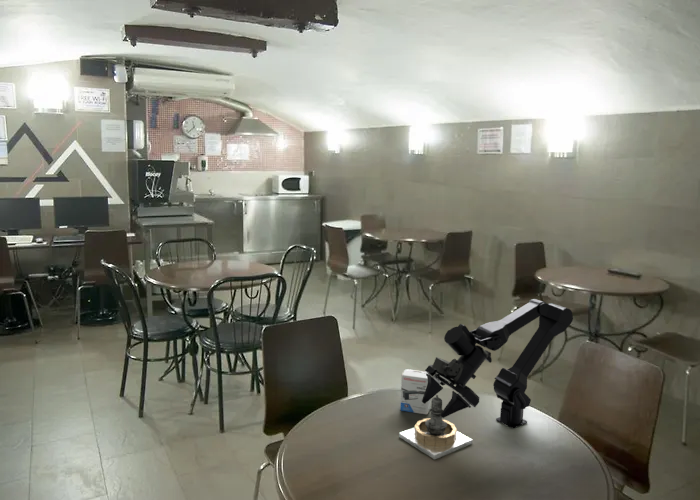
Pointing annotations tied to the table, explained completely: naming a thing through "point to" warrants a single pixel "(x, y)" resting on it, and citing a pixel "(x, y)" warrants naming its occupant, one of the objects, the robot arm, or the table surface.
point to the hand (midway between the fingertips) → (432, 409)
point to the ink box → (414, 391)
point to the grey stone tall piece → (436, 419)
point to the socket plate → (435, 449)
